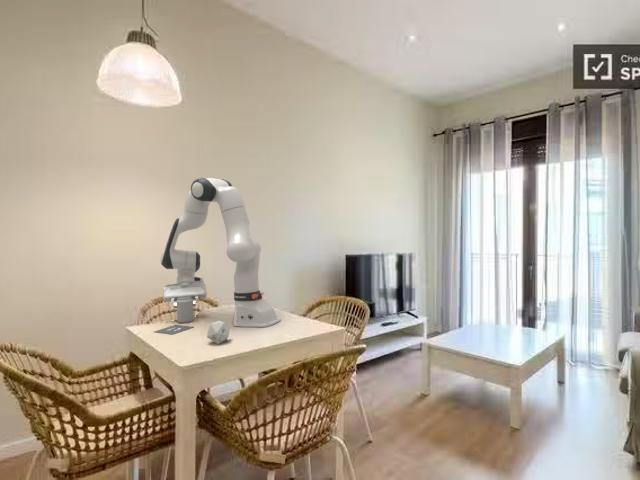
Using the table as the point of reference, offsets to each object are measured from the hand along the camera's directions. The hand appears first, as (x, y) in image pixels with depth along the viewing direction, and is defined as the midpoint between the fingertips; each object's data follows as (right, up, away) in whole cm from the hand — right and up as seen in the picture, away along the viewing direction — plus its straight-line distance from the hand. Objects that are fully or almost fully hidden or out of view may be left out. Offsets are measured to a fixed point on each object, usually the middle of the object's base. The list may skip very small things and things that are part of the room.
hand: (184, 306), depth 173 cm
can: (0, -8, 0) cm, 8 cm away
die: (+26, -8, -35) cm, 45 cm away
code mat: (0, -8, -14) cm, 16 cm away
